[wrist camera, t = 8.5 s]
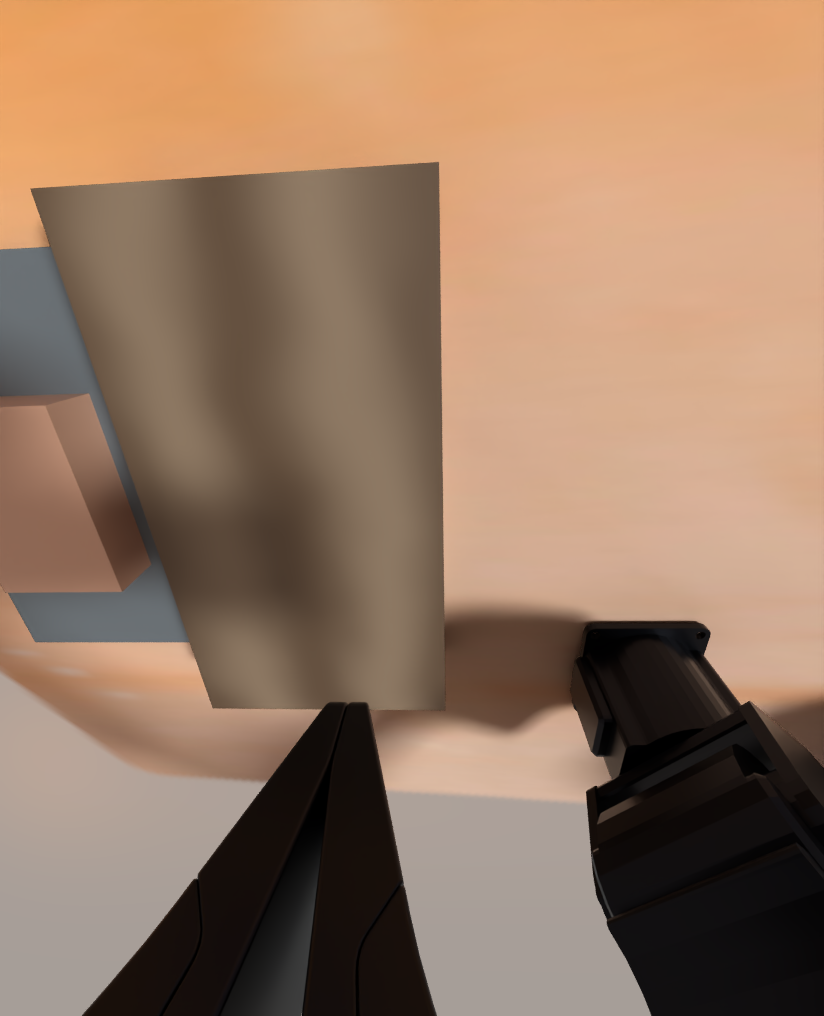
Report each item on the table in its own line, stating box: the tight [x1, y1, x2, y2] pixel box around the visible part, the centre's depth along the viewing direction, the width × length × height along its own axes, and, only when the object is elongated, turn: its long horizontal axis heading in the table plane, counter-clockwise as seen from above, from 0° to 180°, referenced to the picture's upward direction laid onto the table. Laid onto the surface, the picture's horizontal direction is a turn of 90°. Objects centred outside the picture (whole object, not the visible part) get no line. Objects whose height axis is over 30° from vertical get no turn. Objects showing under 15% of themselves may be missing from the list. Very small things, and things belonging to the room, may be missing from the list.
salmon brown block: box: [0, 393, 151, 593], centre depth 20 cm, size 6×9×2 cm, turn 3°
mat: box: [0, 247, 189, 642], centre depth 21 cm, size 12×20×1 cm, turn 3°
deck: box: [31, 162, 445, 710], centre depth 19 cm, size 12×22×4 cm, turn 3°
